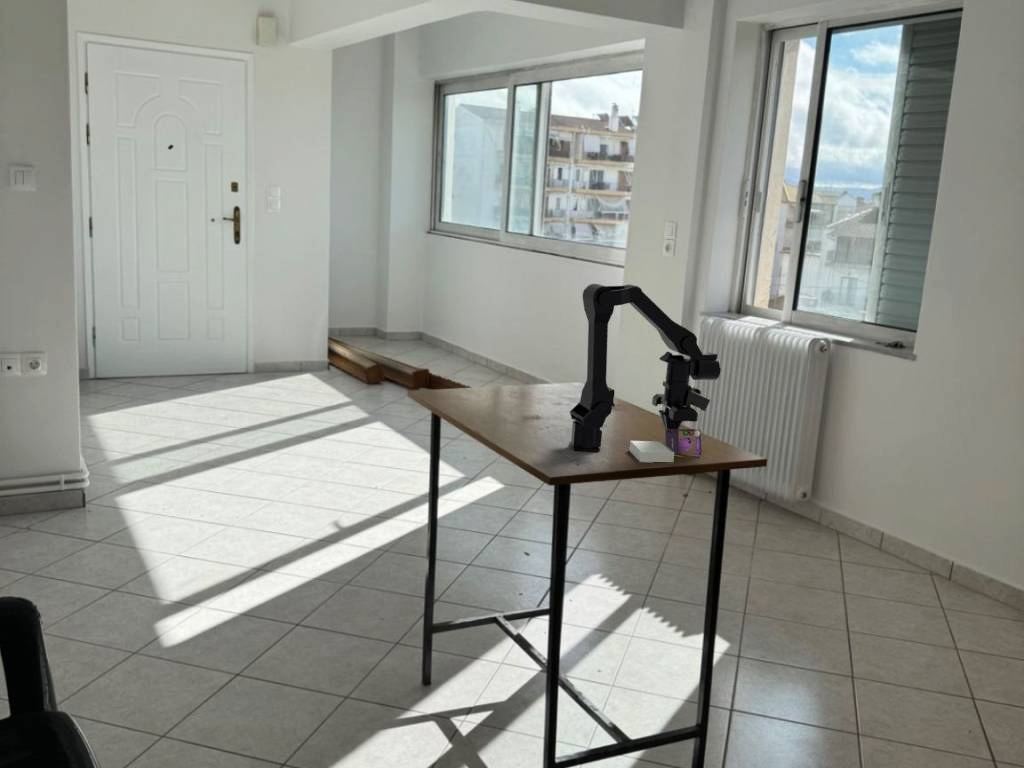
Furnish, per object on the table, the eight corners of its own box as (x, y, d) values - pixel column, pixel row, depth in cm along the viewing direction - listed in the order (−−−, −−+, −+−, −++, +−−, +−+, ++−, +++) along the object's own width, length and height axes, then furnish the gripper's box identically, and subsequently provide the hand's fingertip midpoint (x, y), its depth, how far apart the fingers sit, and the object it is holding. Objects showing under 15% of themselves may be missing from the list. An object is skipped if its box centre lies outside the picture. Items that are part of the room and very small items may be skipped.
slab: (640, 462, 221) (641, 451, 220) (629, 450, 230) (630, 440, 230) (673, 463, 222) (674, 452, 221) (661, 451, 232) (662, 441, 231)
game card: (667, 428, 227) (701, 429, 229) (659, 430, 232) (693, 431, 234) (667, 456, 226) (702, 457, 228) (659, 457, 231) (693, 458, 233)
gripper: (721, 388, 226) (714, 451, 229) (696, 374, 244) (689, 432, 247) (677, 387, 225) (670, 450, 228) (654, 372, 243) (648, 431, 246)
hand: (670, 440), depth 237 cm, fingers closed
